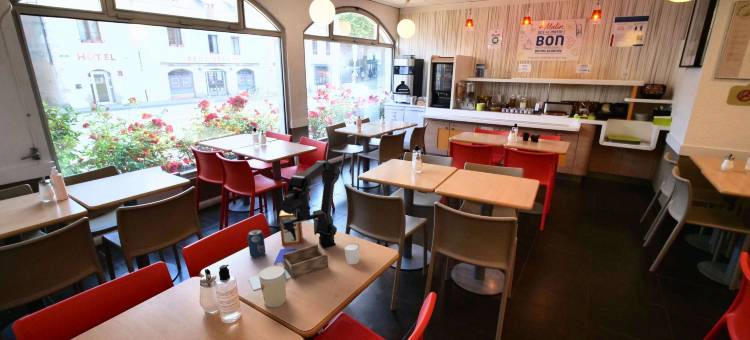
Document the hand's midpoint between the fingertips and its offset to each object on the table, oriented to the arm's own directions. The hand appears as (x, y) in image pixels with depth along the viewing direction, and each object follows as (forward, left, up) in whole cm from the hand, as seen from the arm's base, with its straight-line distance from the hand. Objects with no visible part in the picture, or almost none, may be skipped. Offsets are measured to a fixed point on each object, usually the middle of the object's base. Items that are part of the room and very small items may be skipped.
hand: (305, 237), depth 150 cm
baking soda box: (-1, -23, -13) cm, 26 cm away
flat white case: (+18, +3, -13) cm, 22 cm away
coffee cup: (+20, +18, -13) cm, 30 cm away
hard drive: (+7, -10, -13) cm, 18 cm away
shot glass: (-17, +10, -13) cm, 24 cm away
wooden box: (+2, +3, -12) cm, 13 cm away
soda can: (+17, -19, -13) cm, 28 cm away
